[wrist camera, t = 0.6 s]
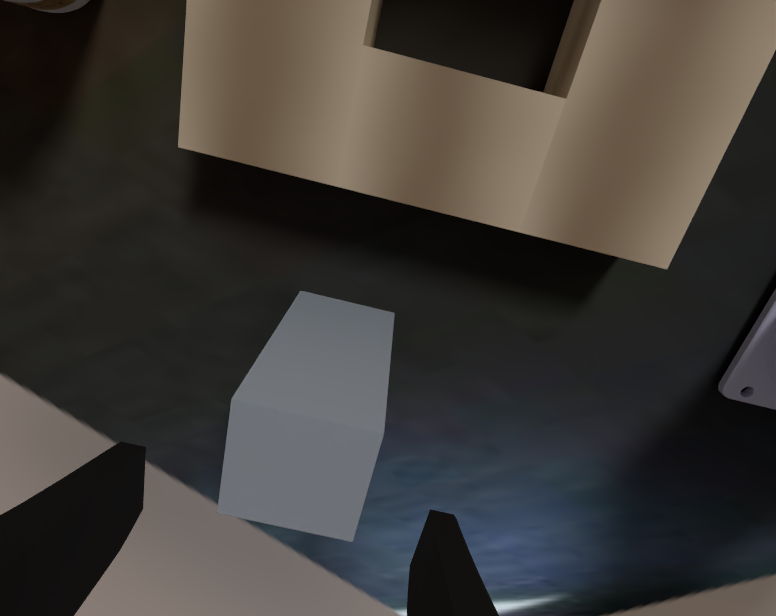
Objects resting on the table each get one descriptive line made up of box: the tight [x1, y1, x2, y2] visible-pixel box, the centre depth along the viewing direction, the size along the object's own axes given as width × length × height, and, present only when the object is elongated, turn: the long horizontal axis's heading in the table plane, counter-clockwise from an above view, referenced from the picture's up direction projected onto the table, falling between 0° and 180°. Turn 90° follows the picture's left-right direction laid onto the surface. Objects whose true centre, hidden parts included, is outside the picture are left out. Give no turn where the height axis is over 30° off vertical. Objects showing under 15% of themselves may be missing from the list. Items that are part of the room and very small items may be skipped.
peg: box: [217, 291, 394, 542], centre depth 16 cm, size 4×4×8 cm
